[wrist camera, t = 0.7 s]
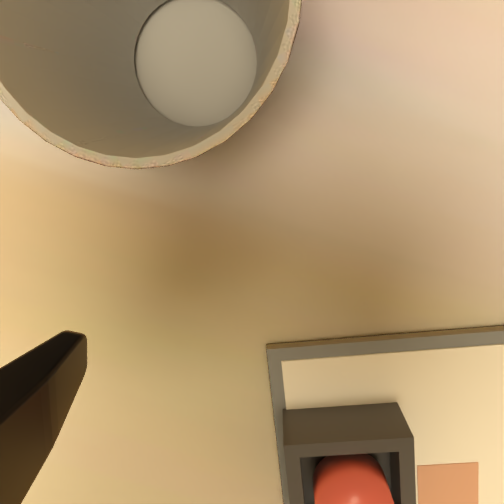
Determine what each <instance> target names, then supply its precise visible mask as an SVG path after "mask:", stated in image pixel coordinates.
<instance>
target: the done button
mask: <svg viewBox="0 0 504 504" xmlns="http://www.w3.org/2000/svg"><path fill="white" fill-rule="evenodd" d="M312 482H313V492H314V501H315V504H394V501H393V498H392V495H391V492H390V489H389V486H388V483H387V480H386V477H385V474H384V471H383V469H382V467H381V465H380V464H379V463H378V462H377V460H375V459H374V458H373V457H372V456H370V455H368V454H351V455H334V456H326V457H325V458H323V459H322V460H321V461H320V462H319V464H318V465H317V466H316V468H315V470H314V473H313V479H312Z"/></svg>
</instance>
